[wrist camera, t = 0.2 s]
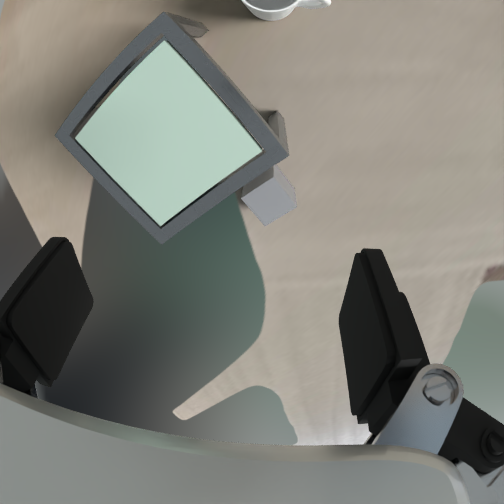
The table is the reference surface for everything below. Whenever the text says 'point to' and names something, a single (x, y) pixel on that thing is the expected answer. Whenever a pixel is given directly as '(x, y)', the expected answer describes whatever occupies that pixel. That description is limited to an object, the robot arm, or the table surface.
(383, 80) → the table surface
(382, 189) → the table surface
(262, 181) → the grey cube
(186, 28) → the stand
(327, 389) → the table surface
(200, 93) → the trapdoor
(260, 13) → the mug
